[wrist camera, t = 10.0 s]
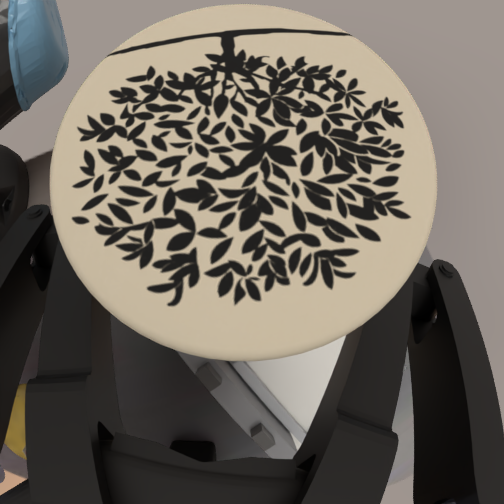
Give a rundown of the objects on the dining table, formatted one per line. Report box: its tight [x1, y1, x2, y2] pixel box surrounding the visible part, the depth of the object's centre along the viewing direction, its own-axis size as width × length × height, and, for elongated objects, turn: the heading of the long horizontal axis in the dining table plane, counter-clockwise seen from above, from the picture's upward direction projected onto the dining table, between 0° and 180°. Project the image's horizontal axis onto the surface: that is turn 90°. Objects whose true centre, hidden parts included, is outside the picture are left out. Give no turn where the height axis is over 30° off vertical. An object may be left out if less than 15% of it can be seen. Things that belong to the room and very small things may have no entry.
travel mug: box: [50, 4, 437, 361], centre depth 14 cm, size 8×8×18 cm
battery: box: [170, 441, 216, 462], centre depth 20 cm, size 4×7×10 cm, turn 1°
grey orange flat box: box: [176, 335, 407, 459], centre depth 23 cm, size 25×15×7 cm, turn 37°
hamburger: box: [4, 384, 27, 460], centre depth 19 cm, size 8×7×12 cm
